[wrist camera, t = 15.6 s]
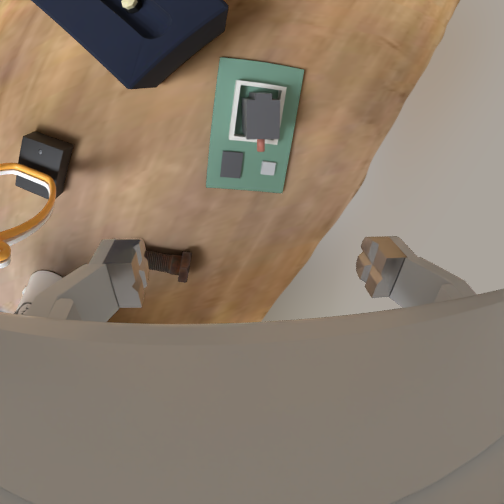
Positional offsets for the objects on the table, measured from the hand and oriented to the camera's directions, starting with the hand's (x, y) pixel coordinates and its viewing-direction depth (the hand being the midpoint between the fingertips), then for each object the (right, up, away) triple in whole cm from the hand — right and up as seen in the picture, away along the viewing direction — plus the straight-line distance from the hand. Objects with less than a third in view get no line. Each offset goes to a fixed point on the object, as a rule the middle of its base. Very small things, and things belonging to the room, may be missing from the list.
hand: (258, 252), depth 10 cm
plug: (0, +20, +27) cm, 33 cm away
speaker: (-16, +34, +17) cm, 41 cm away
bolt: (-19, 0, +39) cm, 43 cm away
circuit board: (0, +19, +29) cm, 34 cm away
